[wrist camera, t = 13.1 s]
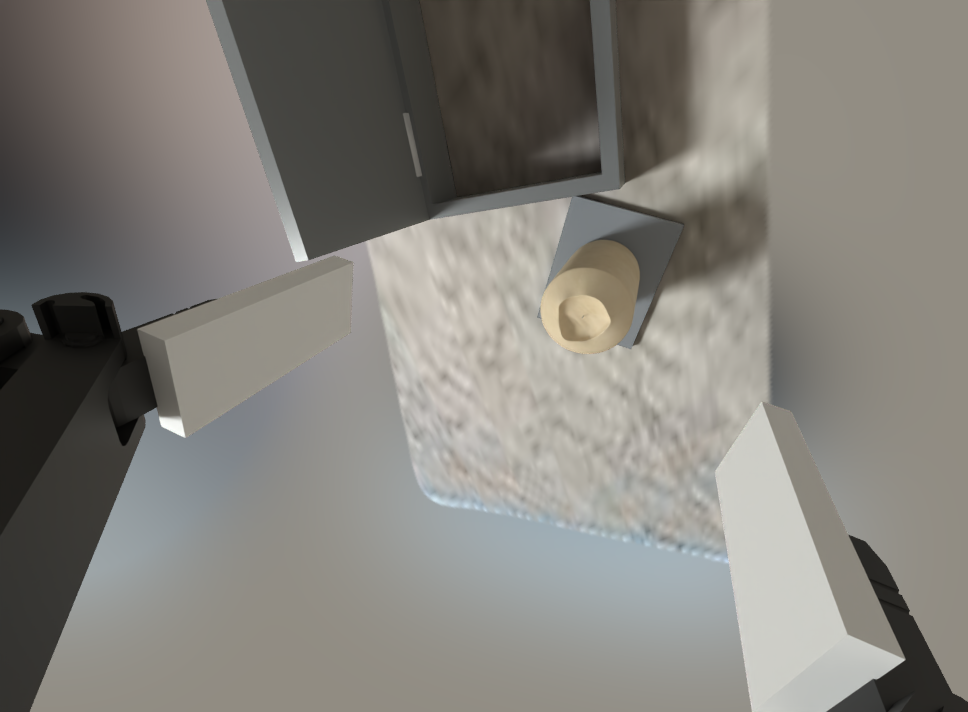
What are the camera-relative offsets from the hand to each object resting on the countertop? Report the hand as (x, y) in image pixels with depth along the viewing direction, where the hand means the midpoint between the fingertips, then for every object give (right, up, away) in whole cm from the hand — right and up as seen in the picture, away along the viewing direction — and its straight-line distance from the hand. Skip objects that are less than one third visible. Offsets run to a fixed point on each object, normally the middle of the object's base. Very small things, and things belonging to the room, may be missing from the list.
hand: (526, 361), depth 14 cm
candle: (+8, +6, +20) cm, 22 cm away
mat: (+8, +7, +20) cm, 22 cm away
